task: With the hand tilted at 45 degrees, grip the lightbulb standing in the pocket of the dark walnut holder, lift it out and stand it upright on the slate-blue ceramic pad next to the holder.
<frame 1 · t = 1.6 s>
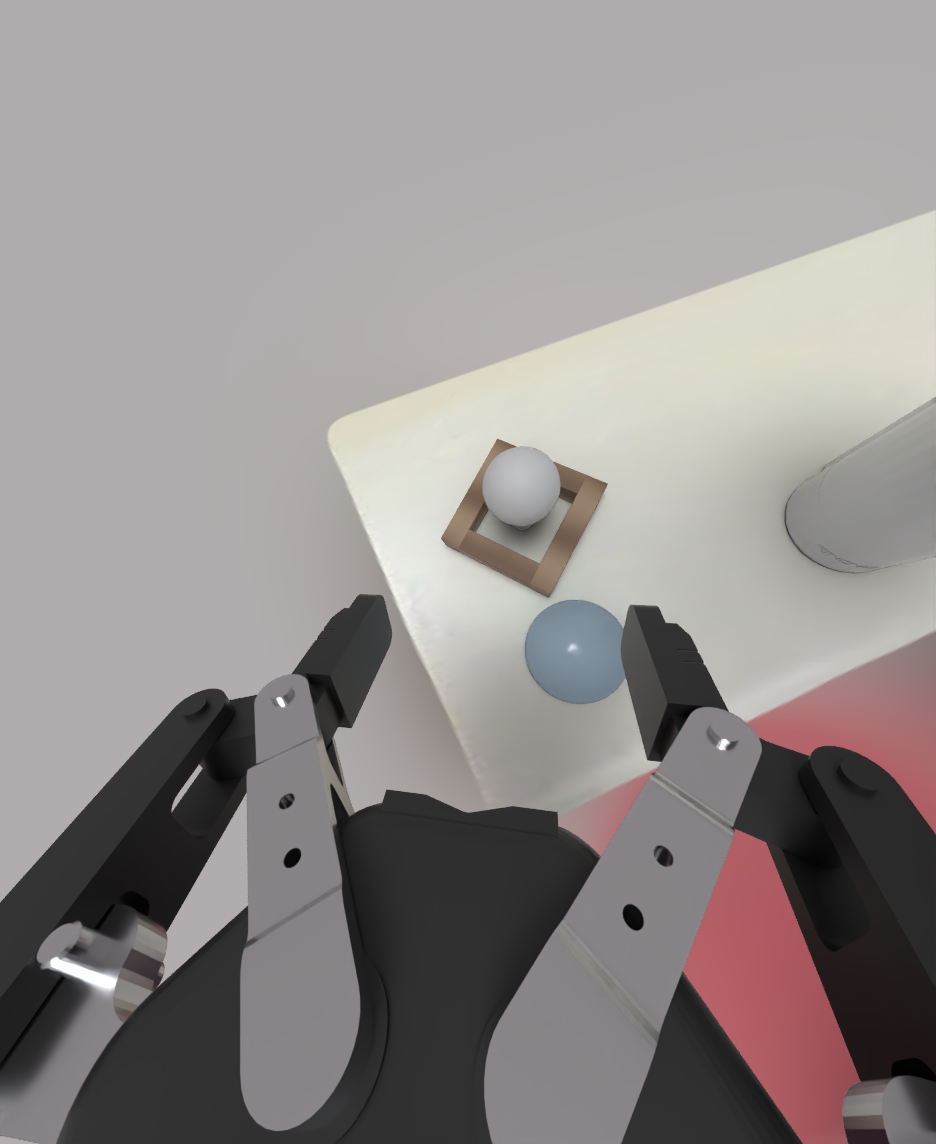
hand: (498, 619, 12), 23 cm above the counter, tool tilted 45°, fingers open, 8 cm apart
holder: (522, 520, 37), on the counter
pad: (575, 650, 33), on the counter
lightbulb: (522, 521, 37), resting in holder
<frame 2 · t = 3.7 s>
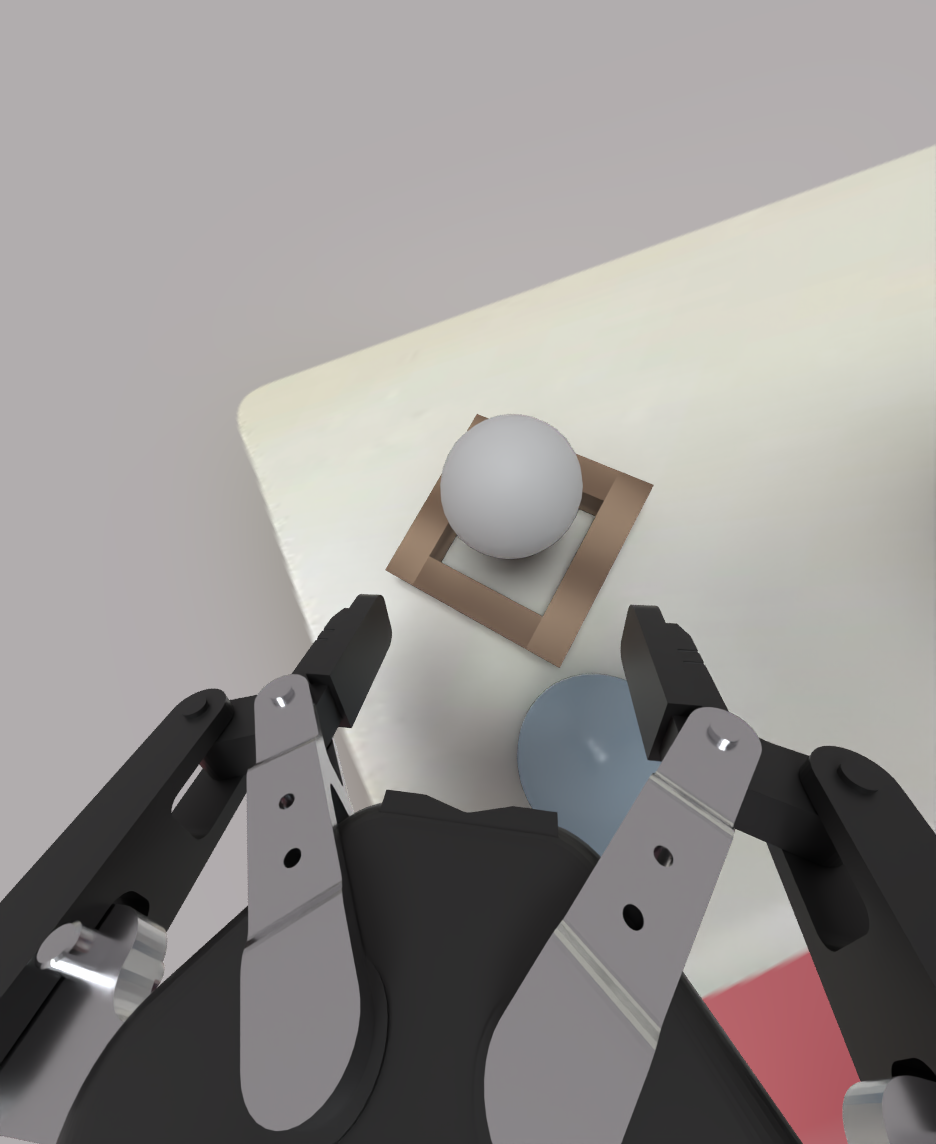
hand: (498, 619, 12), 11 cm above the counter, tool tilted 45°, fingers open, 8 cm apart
holder: (515, 541, 24), on the counter
pad: (599, 756, 20), on the counter
lightbulb: (516, 542, 24), resting in holder
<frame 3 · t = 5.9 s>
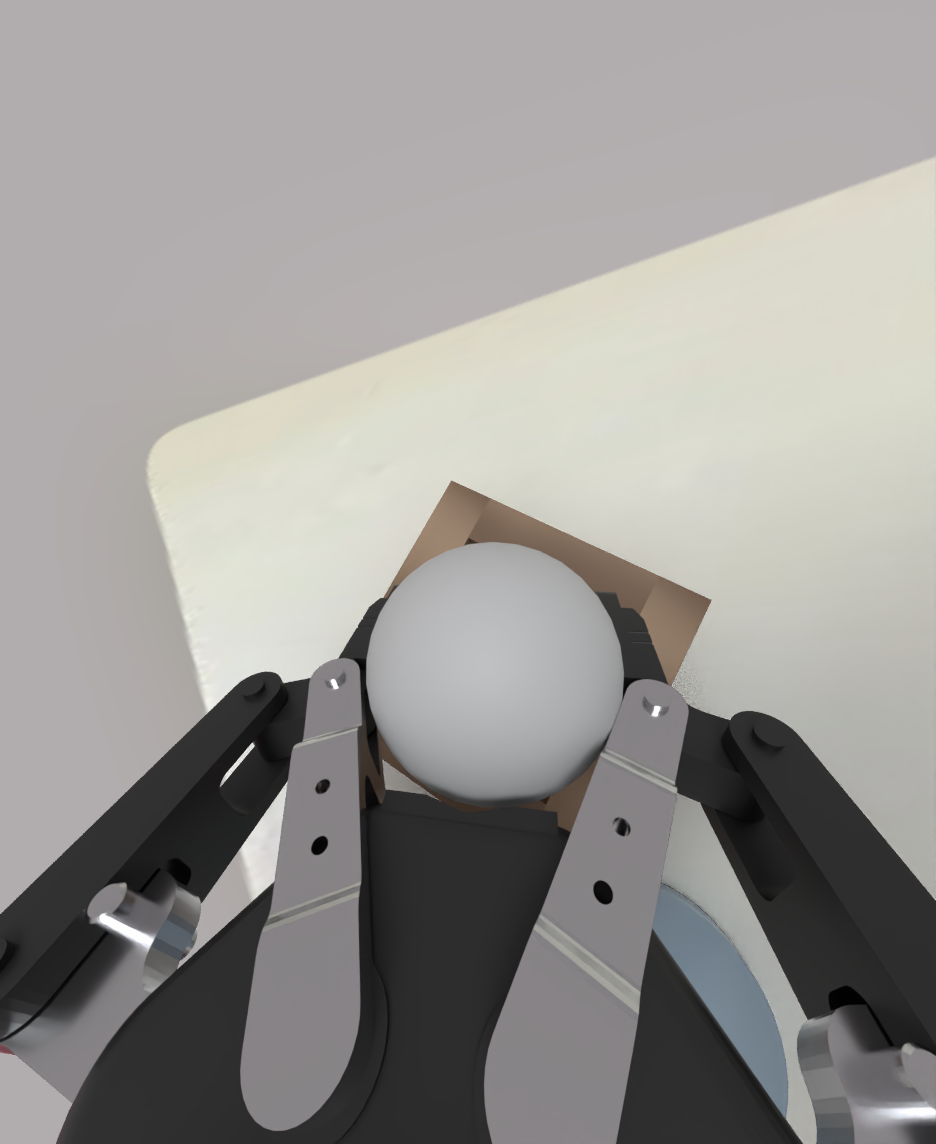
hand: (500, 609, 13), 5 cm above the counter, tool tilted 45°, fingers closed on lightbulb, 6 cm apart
holder: (507, 657, 17), on the counter
pad: (631, 1011, 13), on the counter
lightbulb: (507, 657, 17), resting in holder, touching gripper
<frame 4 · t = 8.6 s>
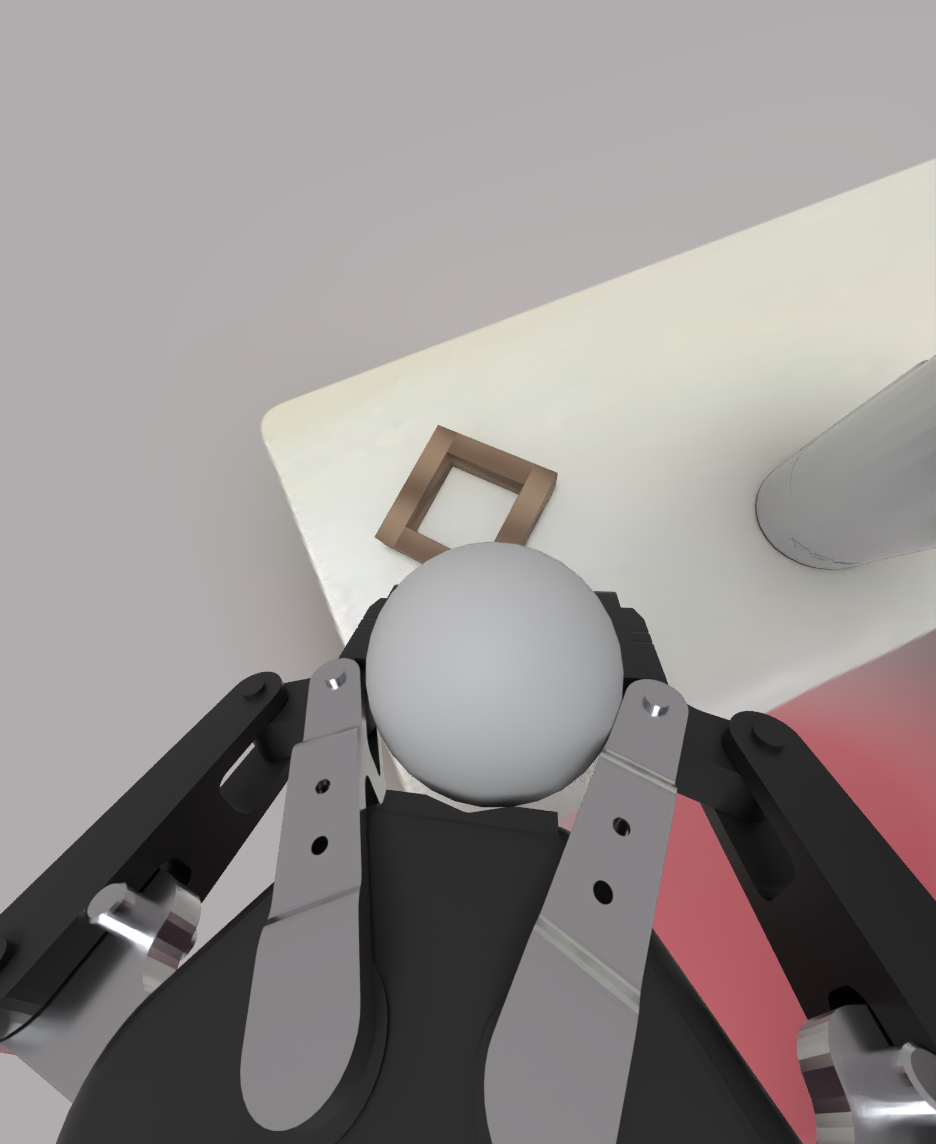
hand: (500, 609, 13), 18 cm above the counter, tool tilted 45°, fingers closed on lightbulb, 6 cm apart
holder: (468, 516, 33), on the counter
lightbulb: (506, 657, 17), point 13 cm above the counter, touching gripper
when the fingers open (7 cm above the counter, at t = 11.4 s): lightbulb stays where it is, resting on pad.
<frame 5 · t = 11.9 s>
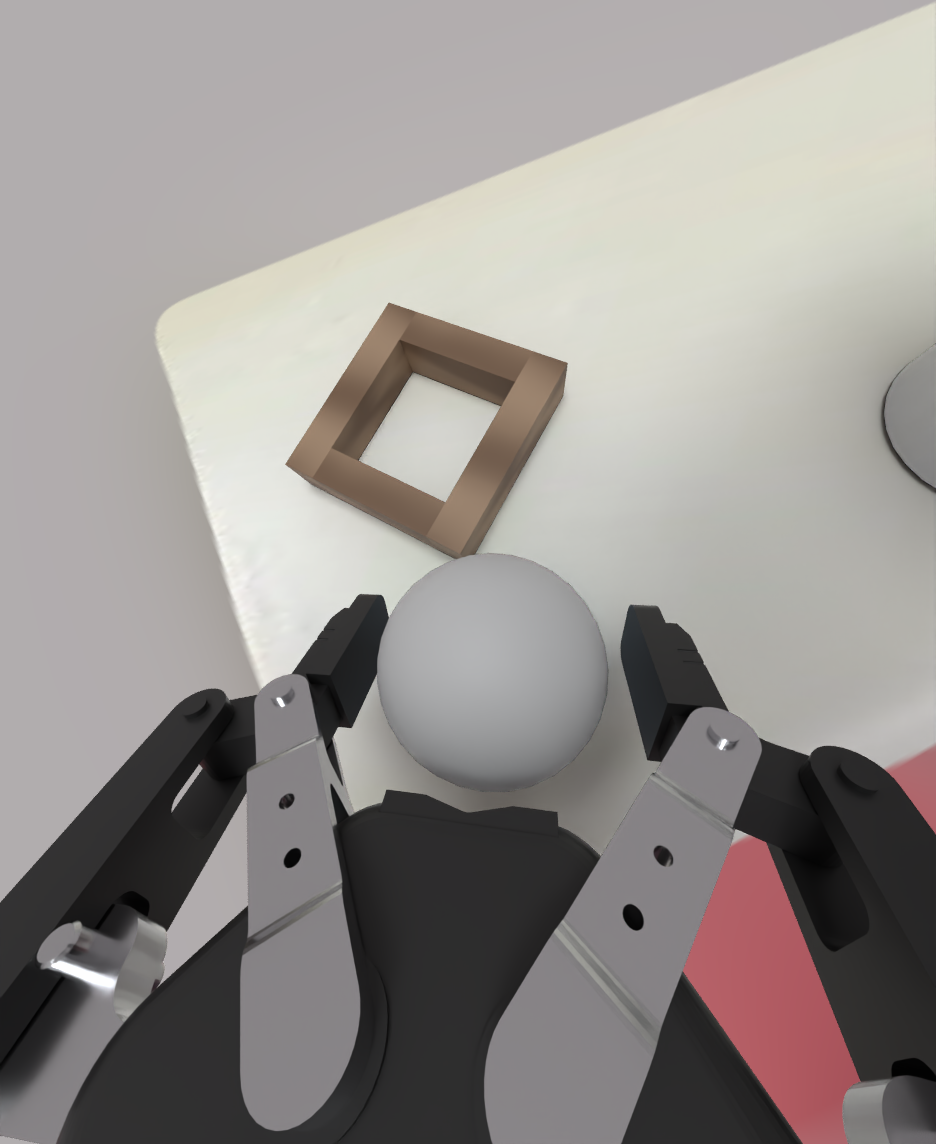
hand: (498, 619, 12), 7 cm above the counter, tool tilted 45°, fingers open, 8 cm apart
holder: (432, 441, 22), on the counter
lightbulb: (507, 661, 18), point 1 cm above the counter, touching pad
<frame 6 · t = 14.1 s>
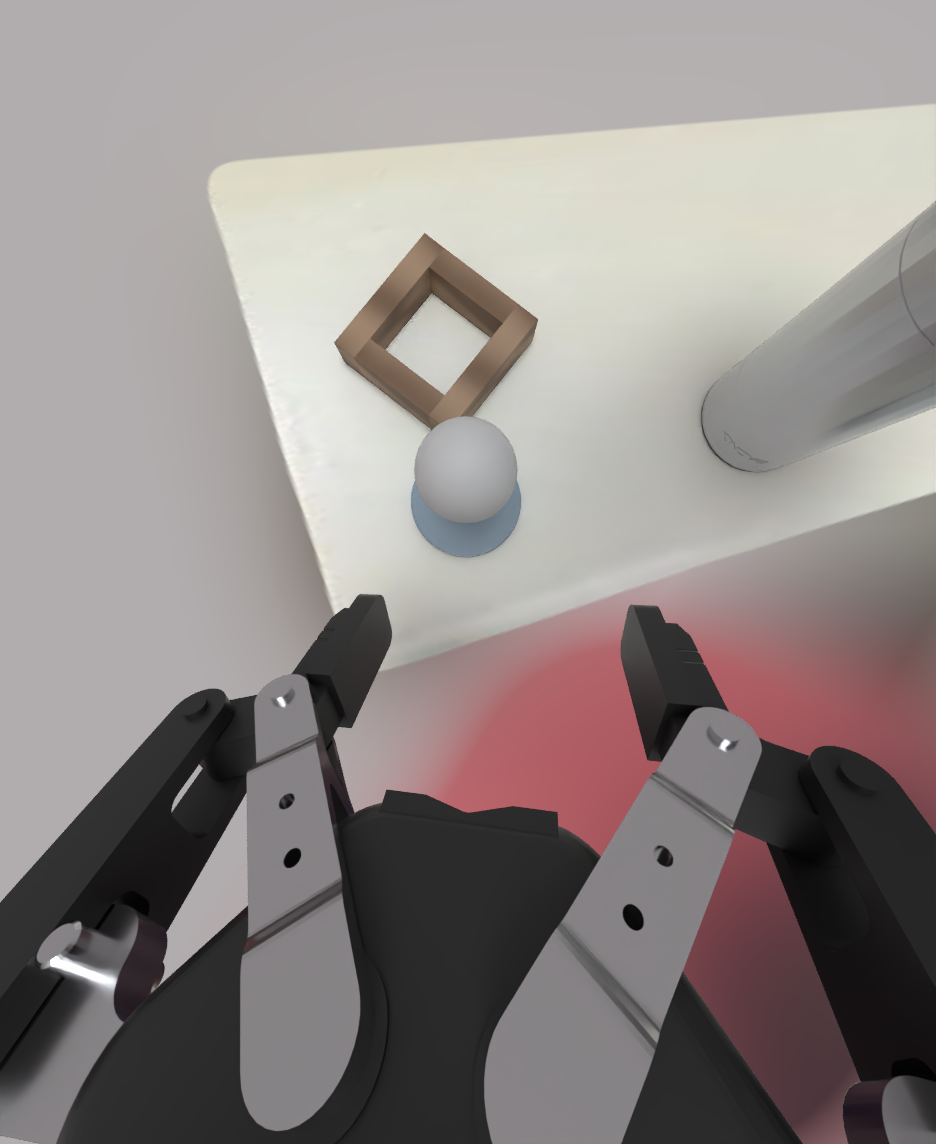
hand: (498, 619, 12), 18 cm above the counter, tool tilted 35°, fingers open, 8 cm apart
holder: (438, 351, 31), on the counter
pad: (466, 503, 31), on the counter
lightbulb: (465, 503, 30), point 1 cm above the counter, touching pad
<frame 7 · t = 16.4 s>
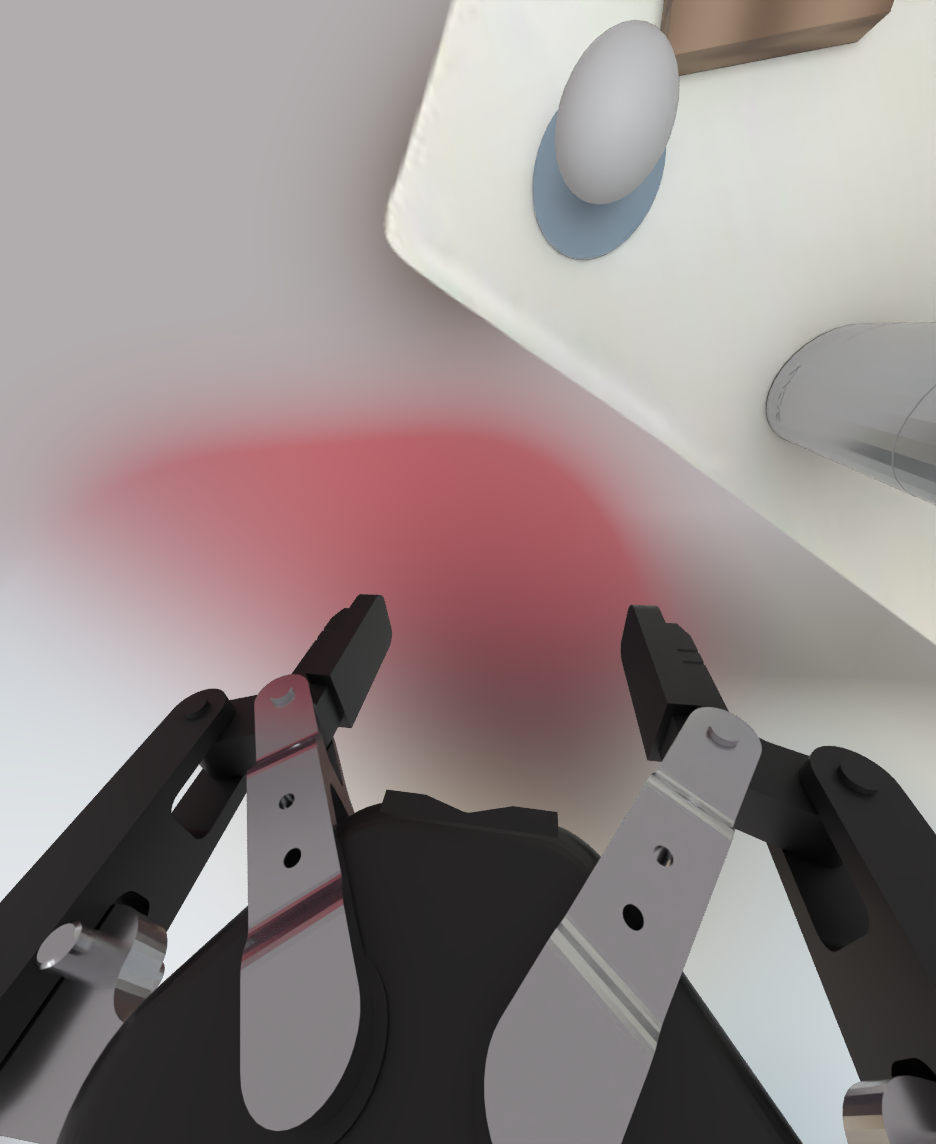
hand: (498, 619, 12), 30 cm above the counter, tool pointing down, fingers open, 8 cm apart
pad: (594, 179, 27), on the counter
lightbulb: (593, 177, 26), point 1 cm above the counter, touching pad
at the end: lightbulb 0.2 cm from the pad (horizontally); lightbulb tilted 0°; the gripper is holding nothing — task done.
